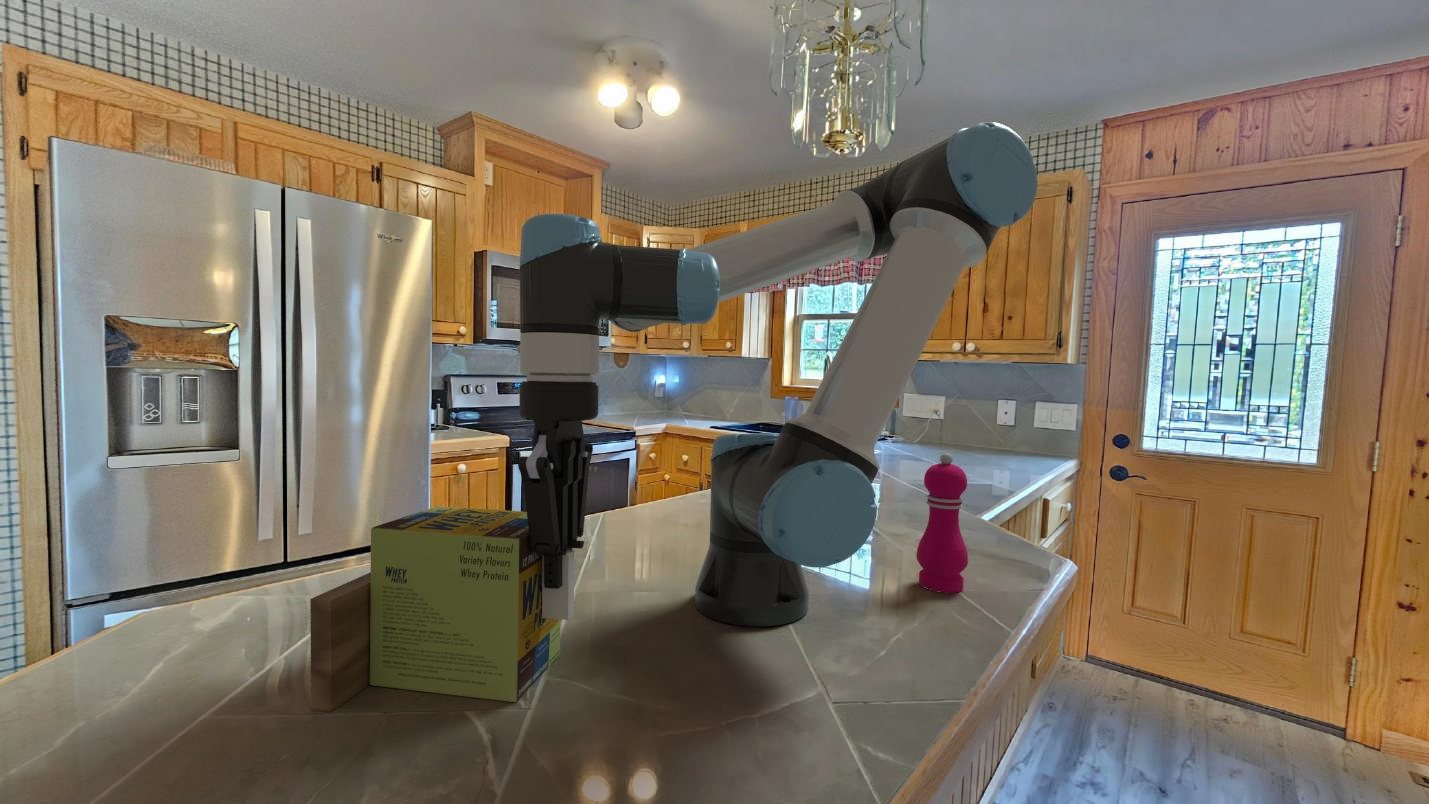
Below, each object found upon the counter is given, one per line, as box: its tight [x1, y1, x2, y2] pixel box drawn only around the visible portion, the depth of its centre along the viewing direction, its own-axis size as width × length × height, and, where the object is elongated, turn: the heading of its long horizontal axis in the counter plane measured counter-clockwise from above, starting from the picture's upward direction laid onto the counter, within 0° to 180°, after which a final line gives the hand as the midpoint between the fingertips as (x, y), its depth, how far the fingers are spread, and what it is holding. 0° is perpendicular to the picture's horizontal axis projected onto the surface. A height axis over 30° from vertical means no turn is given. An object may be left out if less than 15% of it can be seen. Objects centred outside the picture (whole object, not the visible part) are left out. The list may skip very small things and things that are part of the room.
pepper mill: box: [916, 452, 969, 594], centre depth 93 cm, size 7×7×20 cm
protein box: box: [369, 506, 561, 703], centre depth 63 cm, size 10×15×16 cm
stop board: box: [309, 571, 371, 713], centre depth 65 cm, size 2×20×10 cm, turn 171°
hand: (558, 615), depth 62 cm, fingers closed
